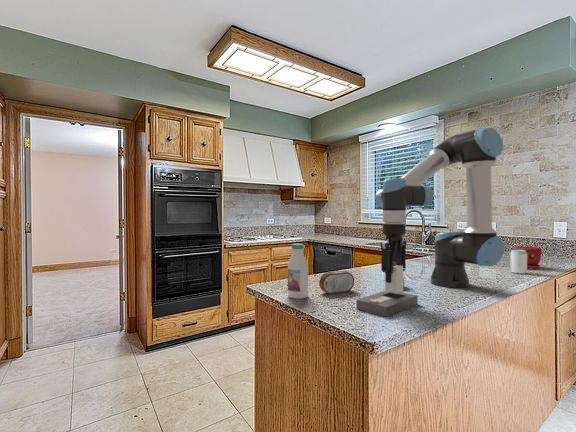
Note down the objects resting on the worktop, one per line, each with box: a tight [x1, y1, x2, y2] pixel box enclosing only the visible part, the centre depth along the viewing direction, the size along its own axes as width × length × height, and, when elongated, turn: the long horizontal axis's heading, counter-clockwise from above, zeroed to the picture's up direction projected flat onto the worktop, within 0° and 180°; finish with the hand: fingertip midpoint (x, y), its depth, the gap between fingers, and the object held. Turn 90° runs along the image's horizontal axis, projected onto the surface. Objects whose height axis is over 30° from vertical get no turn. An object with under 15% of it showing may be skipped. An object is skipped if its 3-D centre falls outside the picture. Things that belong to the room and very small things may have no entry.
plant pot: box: [511, 246, 542, 270], centre depth 178 cm, size 13×13×12 cm
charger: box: [384, 262, 404, 294], centre depth 109 cm, size 4×4×10 cm
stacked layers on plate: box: [403, 273, 406, 288], centre depth 133 cm, size 10×9×6 cm
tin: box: [318, 270, 355, 295], centre depth 125 cm, size 15×3×8 cm, turn 113°
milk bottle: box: [287, 243, 309, 300], centre depth 119 cm, size 8×8×20 cm
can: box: [509, 250, 528, 275], centre depth 163 cm, size 7×7×12 cm
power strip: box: [355, 290, 419, 318], centre depth 106 cm, size 20×11×4 cm, turn 131°
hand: (393, 290), depth 109 cm, fingers closed on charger, 4 cm apart
